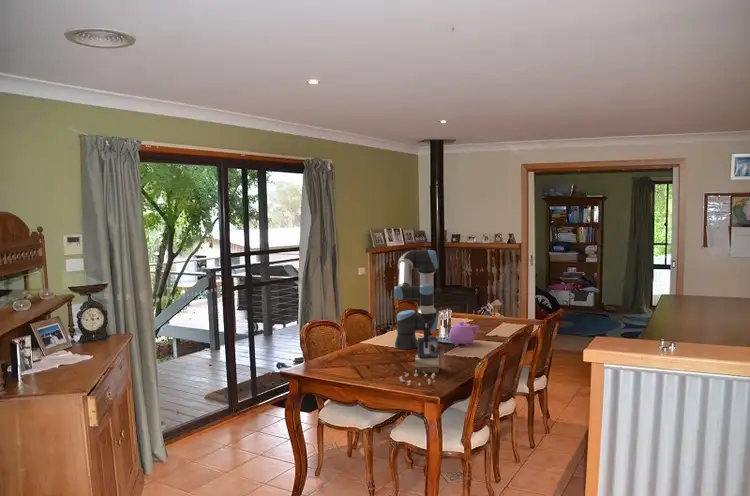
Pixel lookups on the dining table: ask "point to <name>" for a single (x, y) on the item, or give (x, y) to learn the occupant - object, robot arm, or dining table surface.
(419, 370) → the tower base block
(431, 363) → the tower top block
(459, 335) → the teapot
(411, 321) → the robot arm
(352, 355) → the dining table surface
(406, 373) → the game piece set
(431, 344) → the small box
